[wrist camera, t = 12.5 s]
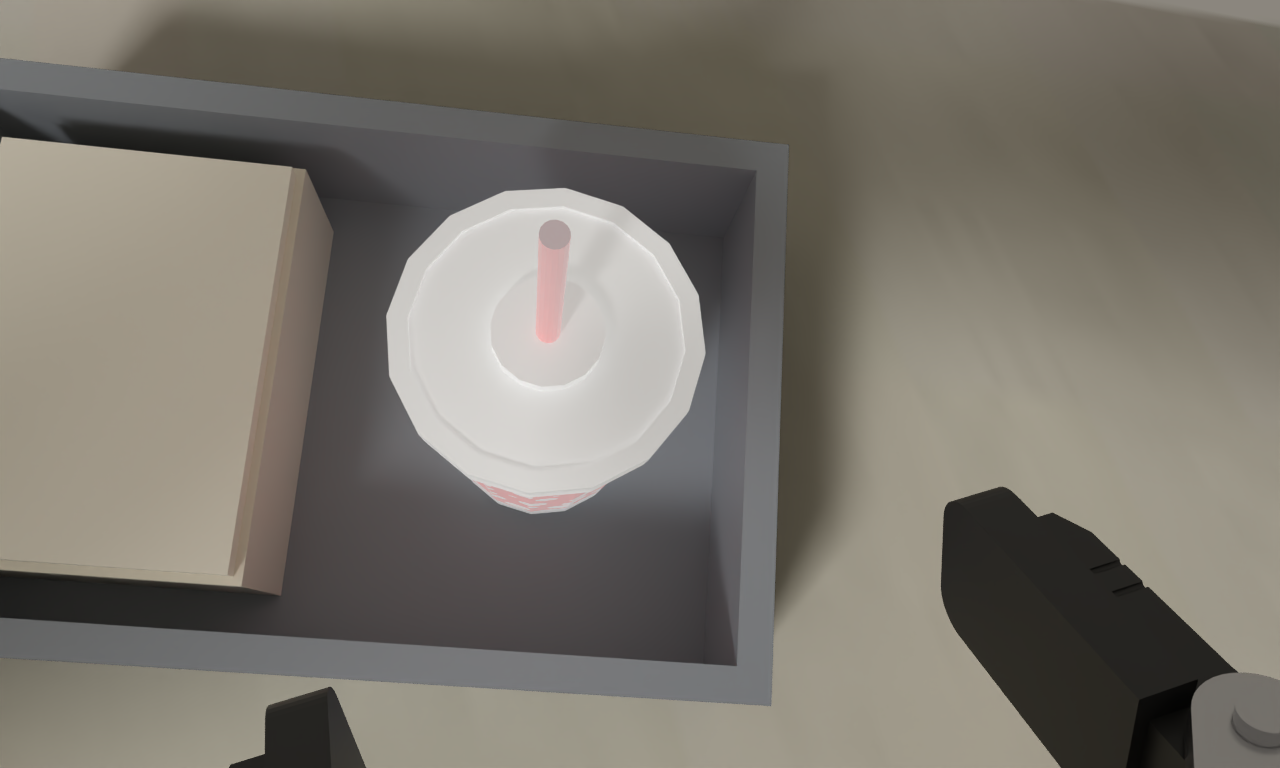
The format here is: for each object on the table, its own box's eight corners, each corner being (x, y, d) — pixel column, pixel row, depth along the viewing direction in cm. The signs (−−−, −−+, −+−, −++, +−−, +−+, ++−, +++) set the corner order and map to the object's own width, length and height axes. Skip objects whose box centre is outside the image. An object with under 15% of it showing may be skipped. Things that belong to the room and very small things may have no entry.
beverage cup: (498, 284, 30) (476, -20, 16) (690, 388, 30) (828, 167, 16) (383, 474, 28) (254, 308, 15) (586, 584, 28) (642, 519, 15)
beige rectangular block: (-6, 576, 27) (-109, 561, 22) (73, 205, 29) (-6, 127, 25) (280, 595, 27) (235, 584, 23) (333, 231, 30) (302, 160, 25)
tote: (-77, 645, 27) (-222, 643, 22) (34, 155, 30) (-69, 50, 25) (725, 696, 29) (771, 705, 24) (744, 228, 32) (788, 144, 27)
